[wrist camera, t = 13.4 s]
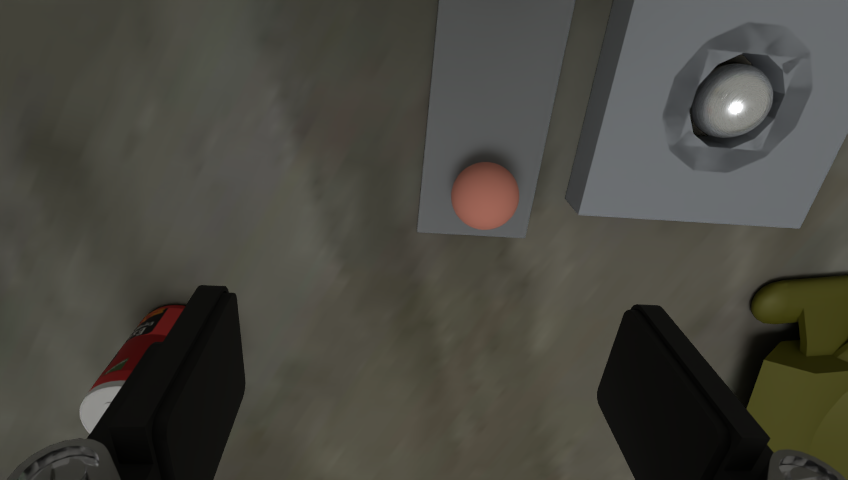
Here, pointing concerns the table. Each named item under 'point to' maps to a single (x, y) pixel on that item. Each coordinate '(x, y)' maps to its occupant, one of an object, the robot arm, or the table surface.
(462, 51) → the mat
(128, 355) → the canned food
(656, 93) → the board
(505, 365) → the table surface
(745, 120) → the steel ball
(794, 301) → the spaceship
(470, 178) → the rubber ball
